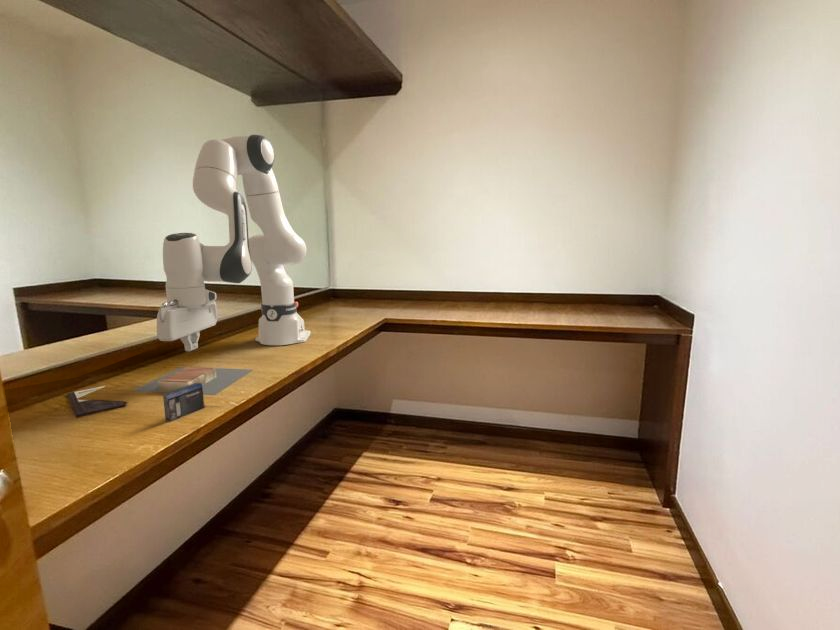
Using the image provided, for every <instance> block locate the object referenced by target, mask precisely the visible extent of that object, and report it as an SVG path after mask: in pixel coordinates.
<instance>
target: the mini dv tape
mask: <svg viewBox="0 0 840 630" xmlns="http://www.w3.org/2000/svg"><path fill="white" fill-rule="evenodd" d="M162 399H163V407H164V409H163V410H164V417H165V418H164V419H165V421H167V422H170V423H171V422H173V421H177V420H178V419H180V418H183V417H186V416H189V415H190V414H193V413H195V412H198V411H201V410H203V409H205V401H204V400H205V399H204V395H203V388H202V384H201V383H198V382H197V383H194V384H191V385H188V386H185V387H182V388H179V389H176V390H173V391H170V392H167V393H162Z"/></svg>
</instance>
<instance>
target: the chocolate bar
mask: <svg viewBox="0 0 840 630" xmlns="http://www.w3.org/2000/svg"><path fill="white" fill-rule="evenodd" d="M107 386H108V385H102V386H98V387H92V388H87V389H82V390H78V391H72V392H67V394H66V395H67V398H68V400H69V403H70V406H71V407H72V410H73V412H74V413H73V414H74V415H75V417H76V418H81V417H86V416H91V415H95V414H99V413H103V412H107V411H108V412H109V411H112V410H117V409H121V408H126V406H127V404H126V402H125V401H123V400H108V399H107V400H103V399H102V400H101V399H87V398H86V399H85V398H84V399H82V398H81V397H84V396H86V395H89V394H92V393H94V392H96V391H98V390H100V389H103V388H105V387H107ZM79 398H80V399H79Z"/></svg>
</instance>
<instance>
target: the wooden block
mask: <svg viewBox="0 0 840 630" xmlns="http://www.w3.org/2000/svg"><path fill="white" fill-rule="evenodd" d="M186 367H187V368H185V369H182V370H180V371H178V372H176V373H174V374H172V375H170V376H168V377H166V378H164V379H162V380H160V381H159V382H158V390H159V392H170V391H173V390H176V389H179V388H182V387H185V386H188V385H191V384H194V383H197V382H198V383H201V384H202V385H204V384H205V383H207V382H209V381H211V380H212V379H214V378H216V368H215V367H211V366H210V367H206V366H203V367H202V366H186Z"/></svg>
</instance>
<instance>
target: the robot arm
mask: <svg viewBox="0 0 840 630" xmlns="http://www.w3.org/2000/svg"><path fill="white" fill-rule="evenodd" d="M275 157H276V155H275V150H274V147H273V144H272V143H271V141H269V139H268V138H266V136H264V135H260V134H250V135H236V136H235V135H234V136H231V137H228V138H223V139H209V140H207V141H205V142H204V143H203V145H202V146H201V149H200V151H199V153H198V156H197V159H196V163H195V167H194V172H193V177H192V189H193V193H194V194H195V196H196V197H197V199H198V200H199V201H200V202H201V203H202V204H204V205H205V206H207V207H208V208H211V209H212V210H215V211H216V212H217V211H218V212H220V213H221V214H225V215H226V216H227V218H228V232H229V235H228V238H229V242H228V243H227V244H226V245H204V244H203V243H201V242H200V240H199V236H198V235H197V234H196V233H193V232H179V233H172V234H168V235H166V236H165V237H164V238H163V243H162V263H163V265H162V266H163V271H164V274H165V276H166V280H165V281H166V282H165V293H166V302H163V303H162V304H161V306H160V307H159V308H158V312H157V316H156V337H157V338H158V340H159V341H161V342H173V341H176V340H179V339H180V341H181V343H183V345H184V351H185V352H191V351H194V350H196V349H198V348H199V343H198V342H199V339H200V335H201V334H200V333H201V331H203V330H206V329H208V328H211V327H214V326H216V325H217V321H218V308H217V303H216V300H217V298H218V297H217V293H216V292H215V291H212V290H209V289H206V284H205V282H209V283H210V282H213V283H215V282H220V283H221V282H222V283H224V282H225V283H230V284H241V283H243V282H244V281H245V280H246V279H248V277H249V276H250V275H251V273H252V271H253V267H252V266H254V268H255V270H256V273H257V275H258V279H259V281H260V292H261V304H260V306H261V307H260V311H261V312H260V313H261V315H262V316H260V317H259V318H258V336H256V337H255V341H256V342H259V343H260V344H261V345H264V346H285V345H294V344H299V343H305V342H306V341H307V340H308V339H309V337H310V336H311V334H312V332H311V331H310V330H307V329H305V328H306V327H305V320H304V319H303V318H302V317H301V315H299V313H298V309H297V308H299V302H298V301H295V295H294V294H295V293H294V289H295V288H294V281H293V279H291V277H290V276H289V275H288V274H287V272H286V269H285V267H286V266H287V267H289V266H295V265H298V264H300V263H302V262H303V261H304V260H305V258H306V256H307V252H308V251H307V245H306V243H305V241H304V240H303V238H302V237H300V236H299V235H298V234H297V233H296V232H295V231H294V229H293V228H292V226H291V224H290V223H289V220H288V218H287V216H286V214H285V210H284V206H283V203H282V199H281V194H280V190H279V185H278V182H277V179H276V176H275V172H274V171H273V166H274V163H275ZM238 176H241V178H242V186H243V191H244V195H245V198H244V196H243V195H242V194H241V193H239V192H238V190H237V182H238V181H237V179H238ZM245 199H246V201H245ZM246 204H247V205H246ZM247 208H248V210H247ZM247 211H249V216H250V219H251V220H252V221H253V222H254V223H255V224H256V225H257V226H258V228H259V229H260V230H261V232H262V233H258V234H256V235H252V236H251V237H249V224H248V212H247ZM284 266H285V267H284Z"/></svg>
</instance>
